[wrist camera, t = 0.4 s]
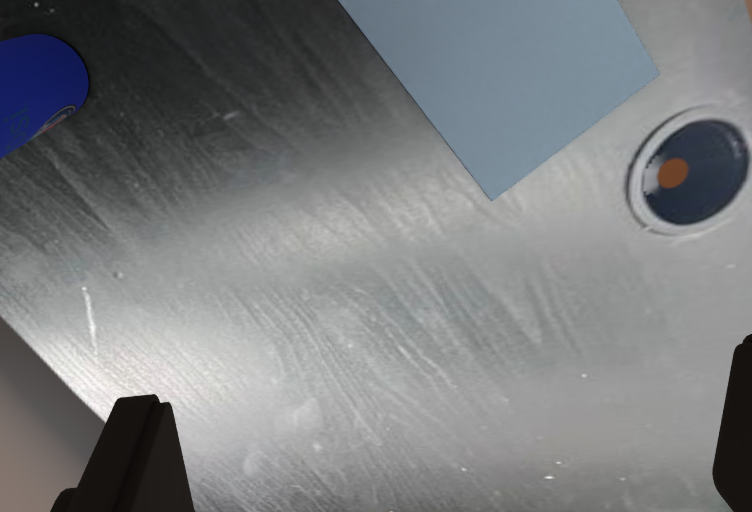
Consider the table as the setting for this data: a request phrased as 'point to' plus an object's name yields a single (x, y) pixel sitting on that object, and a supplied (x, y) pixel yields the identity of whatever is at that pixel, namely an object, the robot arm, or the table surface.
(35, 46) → the beverage can
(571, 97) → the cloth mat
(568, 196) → the table surface
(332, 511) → the table surface
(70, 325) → the table surface
